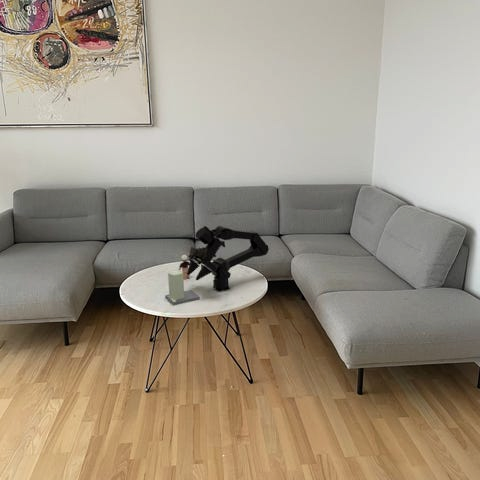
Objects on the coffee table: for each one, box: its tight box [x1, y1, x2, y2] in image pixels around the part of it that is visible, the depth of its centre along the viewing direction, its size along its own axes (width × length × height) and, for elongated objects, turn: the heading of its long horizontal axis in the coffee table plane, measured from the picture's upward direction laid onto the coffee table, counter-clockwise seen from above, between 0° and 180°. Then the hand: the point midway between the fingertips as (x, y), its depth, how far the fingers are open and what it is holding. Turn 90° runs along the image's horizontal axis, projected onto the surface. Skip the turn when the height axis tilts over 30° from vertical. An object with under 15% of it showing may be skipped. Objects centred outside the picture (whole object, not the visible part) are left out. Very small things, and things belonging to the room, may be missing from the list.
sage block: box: [167, 269, 185, 301], centre depth 201 cm, size 5×5×12 cm
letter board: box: [165, 289, 201, 306], centre depth 205 cm, size 13×10×1 cm
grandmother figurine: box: [178, 254, 191, 281], centre depth 228 cm, size 8×4×13 cm, turn 141°
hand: (191, 277), depth 205 cm, fingers open, 9 cm apart
